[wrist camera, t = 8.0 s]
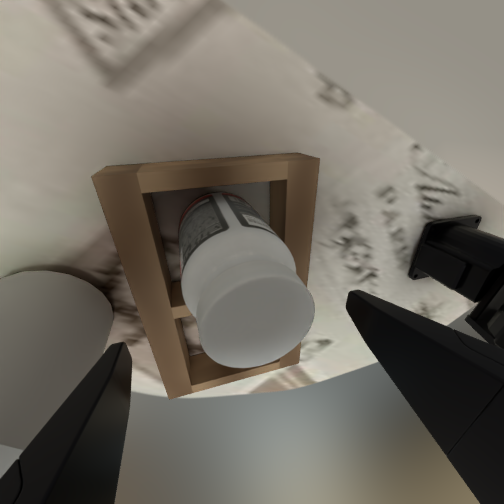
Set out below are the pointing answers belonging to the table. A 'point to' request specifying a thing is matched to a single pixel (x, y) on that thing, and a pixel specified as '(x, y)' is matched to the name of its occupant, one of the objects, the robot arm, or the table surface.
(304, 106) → the table surface
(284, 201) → the wooden divided tray
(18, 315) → the can
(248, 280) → the pill bottle
